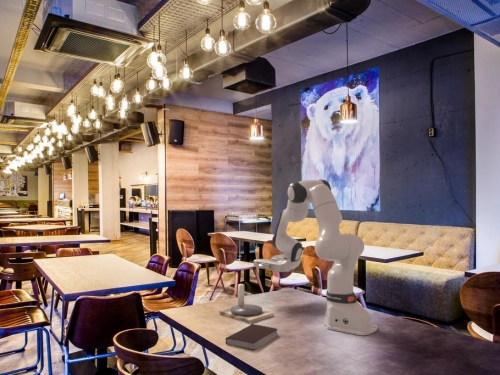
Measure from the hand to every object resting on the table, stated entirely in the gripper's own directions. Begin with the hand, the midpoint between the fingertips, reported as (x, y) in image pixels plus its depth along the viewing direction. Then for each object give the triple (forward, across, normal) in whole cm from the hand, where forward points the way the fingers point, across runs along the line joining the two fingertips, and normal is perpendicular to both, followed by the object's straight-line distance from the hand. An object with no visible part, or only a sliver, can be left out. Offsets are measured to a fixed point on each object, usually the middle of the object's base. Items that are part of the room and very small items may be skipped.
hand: (260, 266), depth 198 cm
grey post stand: (+16, +5, +18) cm, 24 cm away
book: (+37, +30, +20) cm, 52 cm away
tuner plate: (+16, +6, +20) cm, 26 cm away
